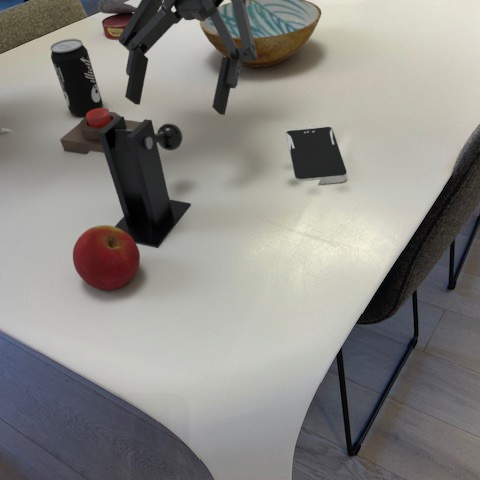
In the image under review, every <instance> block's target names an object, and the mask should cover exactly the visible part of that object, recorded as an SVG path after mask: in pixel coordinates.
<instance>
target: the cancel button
mask: <svg viewBox="0 0 480 480" xmlns="http://www.w3.org/2000/svg"><path fill="white" fill-rule="evenodd" d="M110 112H111V111H110V110H109V109H108V108H106V107H101V108H96V109H93V110H91V111H89V112H88V113H87V114H86V118H87V121H88V124H89V126H90V127H95V128H96V127H103V126H105V125H107V124H108V123H110V122H111V121H112V119H111V115H110Z"/></svg>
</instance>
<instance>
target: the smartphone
mask: <svg viewBox="0 0 480 480" xmlns="http://www.w3.org/2000/svg"><path fill="white" fill-rule="evenodd" d="M285 136H286V142H287V146H288V151H289V156H290V161H291V165H292V170H293V175H294V179H295V181H297V182H307V181H317V180H319V181H318V184H317V185H318V186H319V185H328V184H338V183H340V184H341V183H344V182H346V180H347V173H348V171H347V168H346V164H345V162H344V159H343V156H342V154H341V150H340V147H339V145H338V141H337V138H336V136H335V132H334V129H333V127H332V126H330V125H317V126H310V127H308V126H307V127H299V128H290V129H287V130H286V131H285Z"/></svg>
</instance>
